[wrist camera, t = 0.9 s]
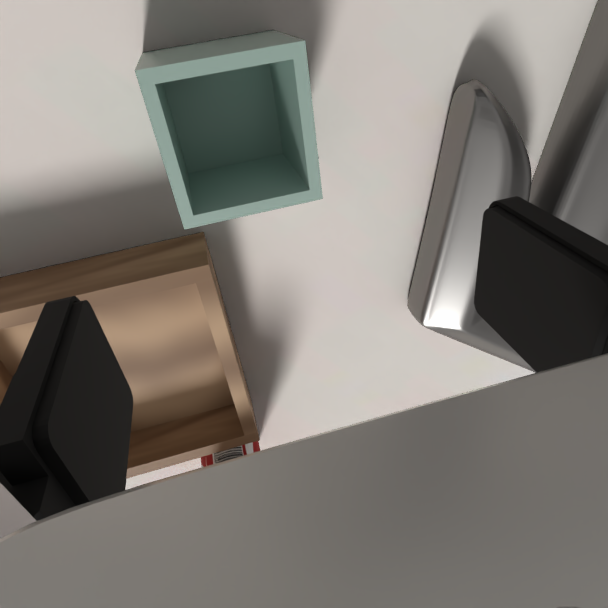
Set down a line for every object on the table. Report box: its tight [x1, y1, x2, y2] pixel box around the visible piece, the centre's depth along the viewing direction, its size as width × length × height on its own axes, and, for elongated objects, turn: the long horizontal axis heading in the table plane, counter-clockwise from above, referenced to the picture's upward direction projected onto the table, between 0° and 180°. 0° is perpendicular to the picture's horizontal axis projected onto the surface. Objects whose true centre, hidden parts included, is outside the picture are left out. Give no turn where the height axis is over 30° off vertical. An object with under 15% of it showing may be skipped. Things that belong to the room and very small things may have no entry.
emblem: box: [408, 0, 608, 373], centre depth 34 cm, size 28×5×28 cm
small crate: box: [135, 30, 323, 230], centre depth 23 cm, size 7×7×7 cm
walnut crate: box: [0, 232, 260, 478], centre depth 32 cm, size 16×16×4 cm
